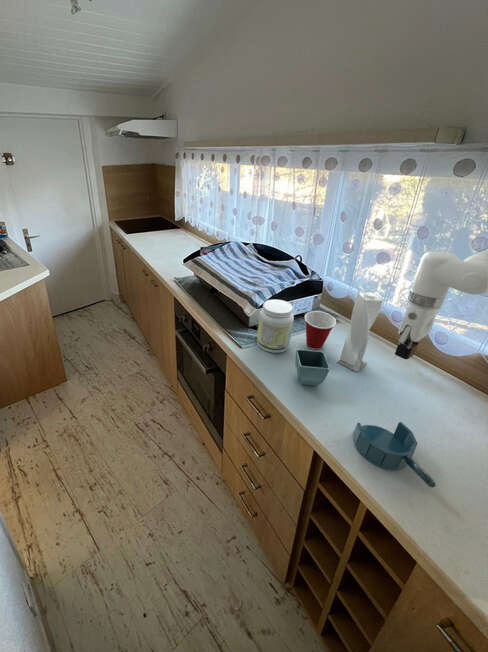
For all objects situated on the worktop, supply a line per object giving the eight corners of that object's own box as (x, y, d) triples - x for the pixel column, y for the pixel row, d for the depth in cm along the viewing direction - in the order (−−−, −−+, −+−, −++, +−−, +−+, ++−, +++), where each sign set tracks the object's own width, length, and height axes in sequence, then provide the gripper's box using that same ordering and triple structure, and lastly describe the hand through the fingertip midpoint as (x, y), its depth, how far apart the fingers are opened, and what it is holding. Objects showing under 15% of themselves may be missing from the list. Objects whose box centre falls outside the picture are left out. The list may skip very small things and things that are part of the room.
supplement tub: (265, 332, 125) (270, 295, 117) (294, 343, 117) (301, 304, 109) (250, 345, 116) (254, 306, 108) (279, 358, 109) (286, 318, 101)
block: (400, 349, 92) (404, 339, 90) (413, 355, 89) (417, 344, 88) (394, 353, 90) (398, 343, 88) (408, 359, 87) (412, 349, 86)
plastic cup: (299, 351, 113) (305, 323, 107) (299, 335, 122) (304, 309, 116) (331, 356, 110) (338, 328, 104) (328, 339, 119) (335, 313, 114)
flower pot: (324, 391, 95) (330, 369, 91) (295, 388, 96) (300, 366, 92) (318, 372, 103) (324, 351, 98) (291, 370, 104) (295, 348, 100)
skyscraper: (332, 360, 108) (352, 289, 95) (343, 351, 112) (363, 282, 99) (357, 372, 102) (381, 298, 89) (367, 362, 107) (392, 290, 93)
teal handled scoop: (449, 489, 68) (459, 474, 65) (405, 505, 65) (413, 490, 62) (380, 422, 84) (386, 408, 82) (342, 432, 81) (347, 418, 79)
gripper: (428, 313, 74) (405, 372, 83) (454, 294, 82) (431, 350, 91) (395, 301, 80) (376, 358, 88) (423, 285, 88) (403, 338, 96)
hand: (404, 353), depth 89 cm, fingers closed on block, 3 cm apart
